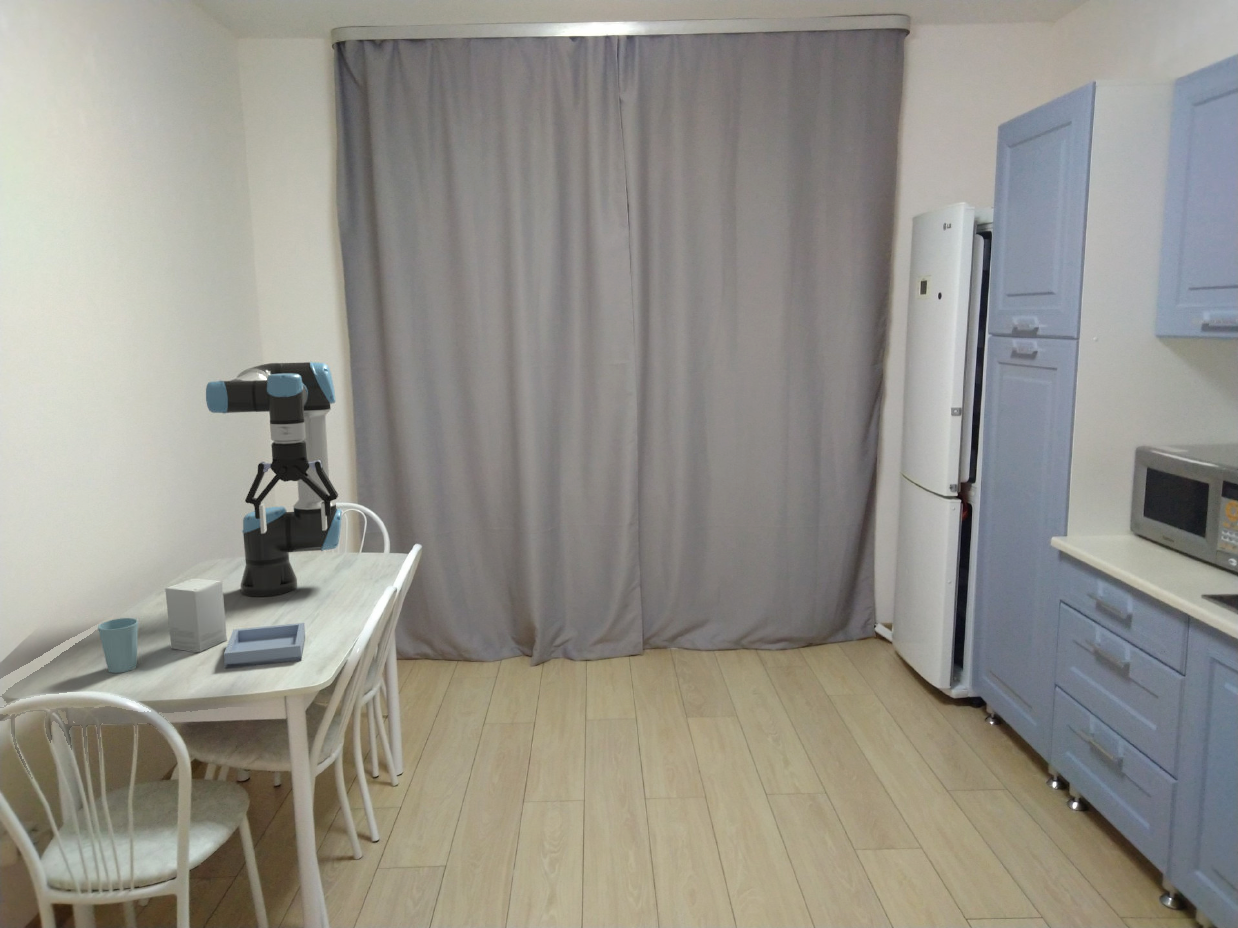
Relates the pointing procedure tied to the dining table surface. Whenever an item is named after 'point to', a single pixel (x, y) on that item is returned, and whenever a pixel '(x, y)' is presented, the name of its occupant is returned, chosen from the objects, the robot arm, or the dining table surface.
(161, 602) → the dining table surface
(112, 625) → the cup
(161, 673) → the dining table surface
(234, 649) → the bin
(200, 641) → the supplement box
